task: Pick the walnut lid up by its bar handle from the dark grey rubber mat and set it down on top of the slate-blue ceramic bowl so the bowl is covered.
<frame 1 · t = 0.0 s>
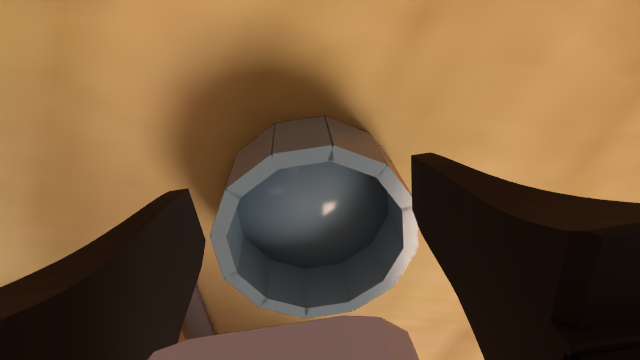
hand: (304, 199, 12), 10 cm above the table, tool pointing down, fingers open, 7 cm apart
bowl: (312, 200, 24), on the table
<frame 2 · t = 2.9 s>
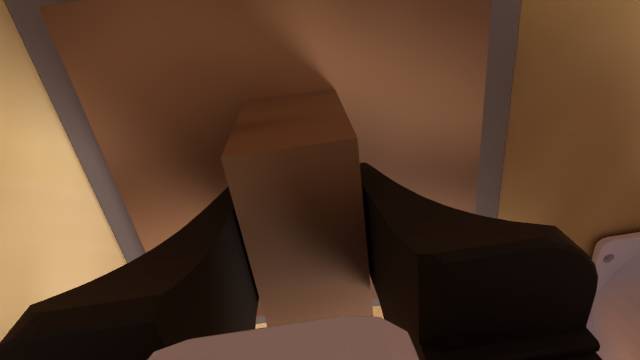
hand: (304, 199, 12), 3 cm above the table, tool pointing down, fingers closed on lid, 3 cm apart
lid: (302, 165, 14), resting on mat, touching gripper
mat: (301, 161, 15), on the table
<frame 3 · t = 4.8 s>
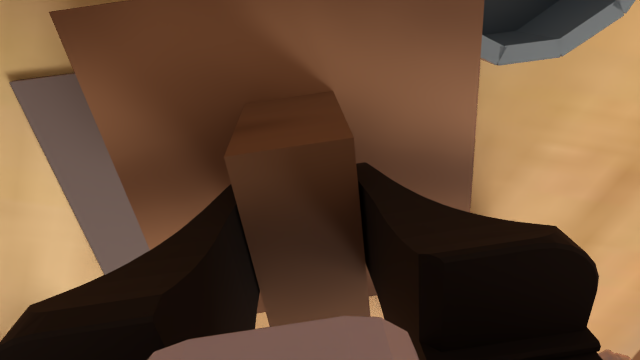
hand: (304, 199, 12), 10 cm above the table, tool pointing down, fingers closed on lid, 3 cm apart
lid: (301, 165, 15), point 7 cm above the table, touching gripper
mat: (205, 192, 23), on the table
when the fingers open (8 cm above the table, at t = 6.7 s): lid stays where it is, resting on bowl.
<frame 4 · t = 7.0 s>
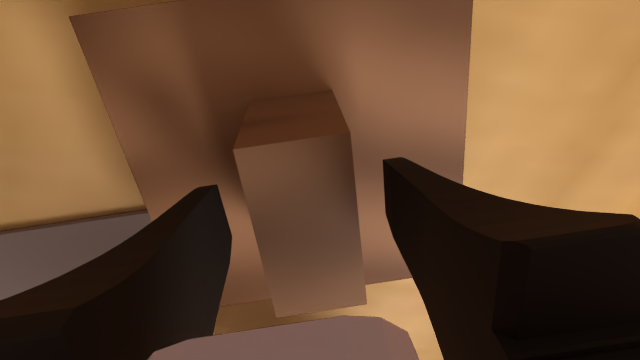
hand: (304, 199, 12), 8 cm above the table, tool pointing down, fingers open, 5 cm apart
lid: (302, 159, 16), point 4 cm above the table, touching bowl
mat: (74, 326, 25), on the table
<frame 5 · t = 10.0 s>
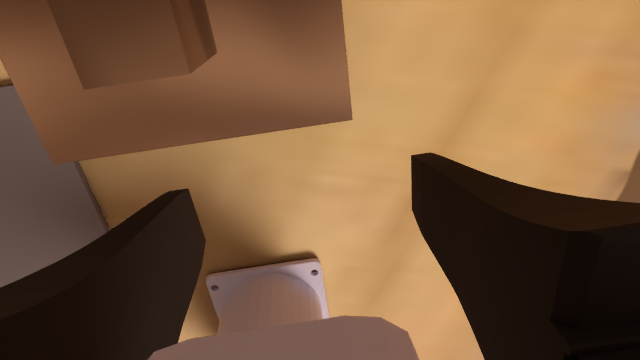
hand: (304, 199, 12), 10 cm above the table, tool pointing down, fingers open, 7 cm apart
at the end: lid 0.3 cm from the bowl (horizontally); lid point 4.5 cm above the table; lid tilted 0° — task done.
